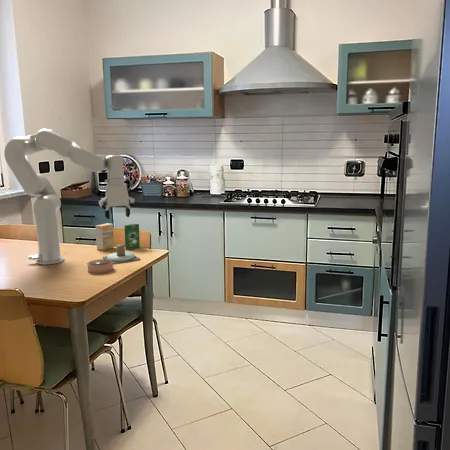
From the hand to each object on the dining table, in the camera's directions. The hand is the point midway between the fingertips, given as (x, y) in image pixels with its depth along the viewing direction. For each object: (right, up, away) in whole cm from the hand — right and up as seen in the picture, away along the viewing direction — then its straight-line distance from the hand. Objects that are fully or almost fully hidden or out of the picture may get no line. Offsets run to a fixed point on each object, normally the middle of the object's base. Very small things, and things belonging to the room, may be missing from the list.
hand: (117, 217), depth 225 cm
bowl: (-5, -24, -14) cm, 28 cm away
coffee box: (+2, -16, +24) cm, 29 cm away
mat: (+1, -20, +4) cm, 20 cm away
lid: (+1, -19, +4) cm, 20 cm away
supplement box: (-12, -16, +25) cm, 32 cm away
